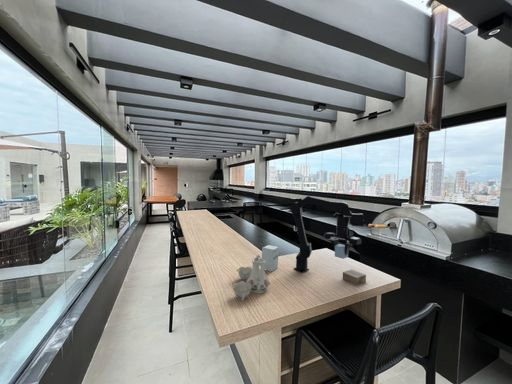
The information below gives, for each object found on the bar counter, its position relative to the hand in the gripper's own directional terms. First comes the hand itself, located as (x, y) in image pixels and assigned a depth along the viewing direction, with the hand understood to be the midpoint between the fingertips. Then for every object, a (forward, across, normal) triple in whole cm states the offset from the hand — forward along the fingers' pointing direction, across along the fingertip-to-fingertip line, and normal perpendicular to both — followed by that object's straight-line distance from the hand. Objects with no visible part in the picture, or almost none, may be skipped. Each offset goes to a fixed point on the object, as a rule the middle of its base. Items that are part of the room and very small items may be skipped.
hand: (341, 253), depth 117 cm
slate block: (+2, 0, 0) cm, 2 cm away
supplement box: (+12, +31, +24) cm, 41 cm away
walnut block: (+13, -7, -1) cm, 14 cm away
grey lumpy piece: (+12, +18, +48) cm, 53 cm away
